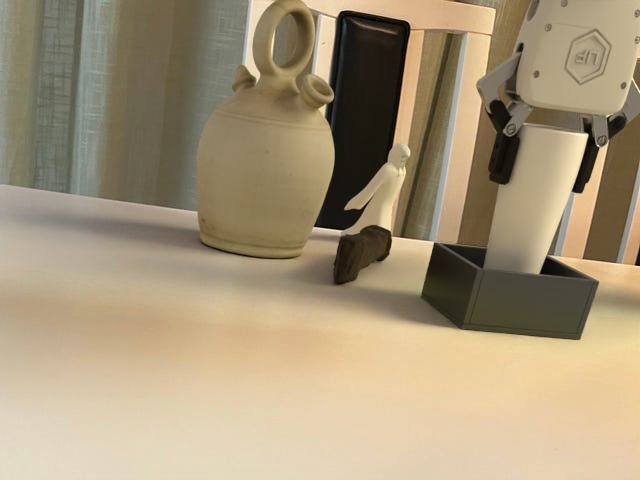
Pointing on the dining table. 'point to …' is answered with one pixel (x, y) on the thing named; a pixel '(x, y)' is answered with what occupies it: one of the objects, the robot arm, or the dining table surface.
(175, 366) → the dining table surface
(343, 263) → the rough brown chunk
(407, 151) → the figurine
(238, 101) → the jug
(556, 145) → the drinking glass
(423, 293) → the bin
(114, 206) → the dining table surface
